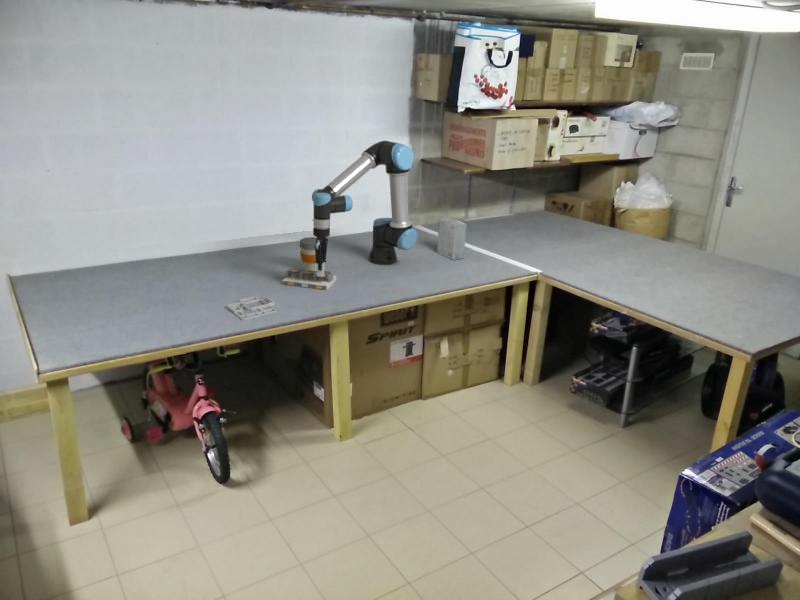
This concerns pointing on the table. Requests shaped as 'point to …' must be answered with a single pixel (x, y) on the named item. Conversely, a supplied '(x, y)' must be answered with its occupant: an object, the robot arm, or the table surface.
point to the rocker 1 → (295, 271)
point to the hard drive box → (451, 238)
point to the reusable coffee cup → (308, 253)
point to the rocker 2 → (325, 275)
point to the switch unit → (308, 280)
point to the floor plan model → (240, 310)
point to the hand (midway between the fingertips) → (320, 275)
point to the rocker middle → (309, 273)
